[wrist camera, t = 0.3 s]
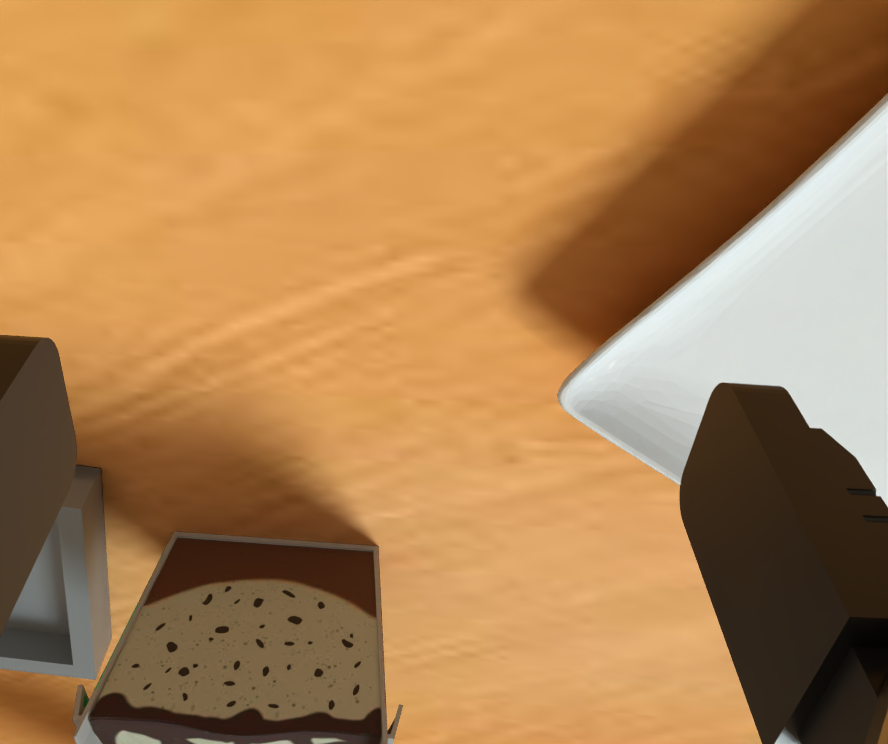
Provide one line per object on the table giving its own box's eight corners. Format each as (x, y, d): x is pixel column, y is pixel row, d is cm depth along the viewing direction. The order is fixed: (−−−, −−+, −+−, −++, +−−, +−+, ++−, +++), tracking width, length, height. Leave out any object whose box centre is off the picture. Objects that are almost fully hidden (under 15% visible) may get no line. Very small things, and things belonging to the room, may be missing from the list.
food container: (154, 614, 42) (84, 819, 34) (140, 528, 38) (57, 735, 30) (401, 630, 43) (390, 835, 35) (410, 548, 39) (400, 756, 31)
